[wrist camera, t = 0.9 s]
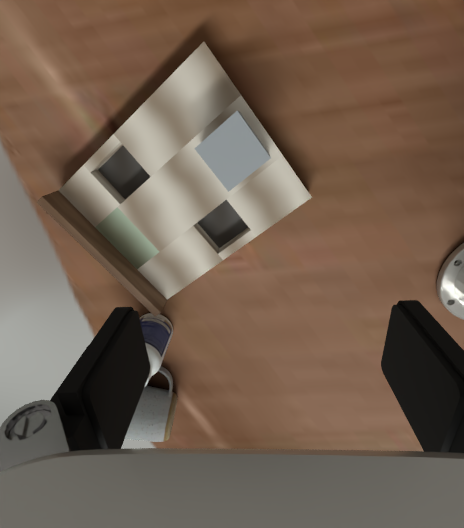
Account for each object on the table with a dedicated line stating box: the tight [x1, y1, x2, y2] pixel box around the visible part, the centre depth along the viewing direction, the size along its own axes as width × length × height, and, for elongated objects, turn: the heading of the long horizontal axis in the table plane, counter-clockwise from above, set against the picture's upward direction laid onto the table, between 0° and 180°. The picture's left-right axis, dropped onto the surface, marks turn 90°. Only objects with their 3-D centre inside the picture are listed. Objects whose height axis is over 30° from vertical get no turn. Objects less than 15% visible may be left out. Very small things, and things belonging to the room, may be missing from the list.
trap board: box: [37, 42, 312, 316], centre depth 34 cm, size 23×18×5 cm
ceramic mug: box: [125, 366, 177, 442], centre depth 47 cm, size 11×8×8 cm
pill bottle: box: [140, 313, 173, 386], centre depth 41 cm, size 5×5×10 cm
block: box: [194, 111, 271, 192], centre depth 30 cm, size 5×5×4 cm
